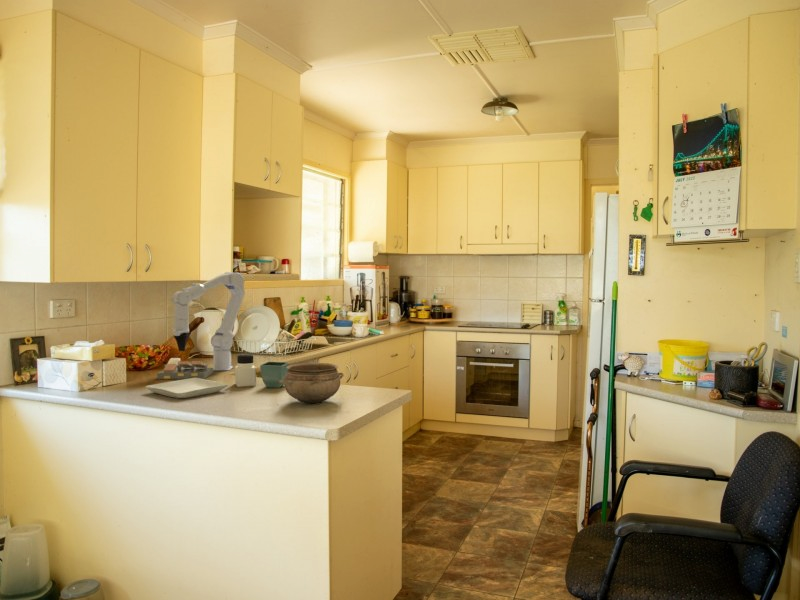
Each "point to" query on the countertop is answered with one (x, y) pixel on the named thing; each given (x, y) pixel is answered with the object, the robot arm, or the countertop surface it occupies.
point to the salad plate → (187, 387)
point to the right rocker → (198, 364)
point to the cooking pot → (312, 382)
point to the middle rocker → (184, 364)
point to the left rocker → (172, 365)
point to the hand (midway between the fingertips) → (182, 351)
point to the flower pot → (274, 373)
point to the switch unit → (186, 373)
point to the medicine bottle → (245, 371)
